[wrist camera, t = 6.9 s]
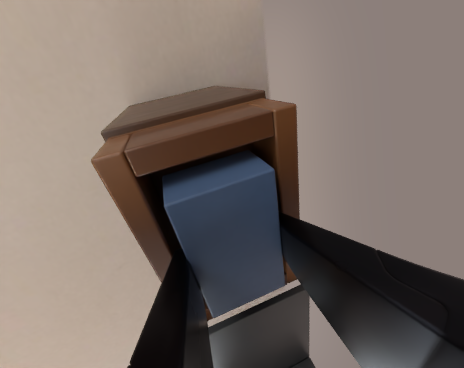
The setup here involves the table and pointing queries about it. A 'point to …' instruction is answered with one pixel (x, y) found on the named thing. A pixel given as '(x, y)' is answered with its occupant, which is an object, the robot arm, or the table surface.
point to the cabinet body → (178, 108)
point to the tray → (192, 154)
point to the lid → (265, 334)
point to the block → (228, 228)
